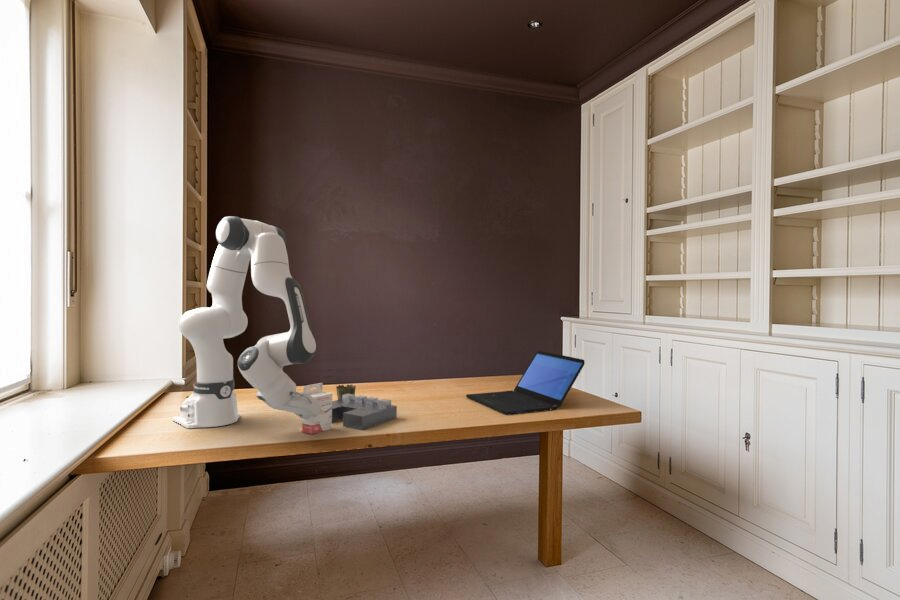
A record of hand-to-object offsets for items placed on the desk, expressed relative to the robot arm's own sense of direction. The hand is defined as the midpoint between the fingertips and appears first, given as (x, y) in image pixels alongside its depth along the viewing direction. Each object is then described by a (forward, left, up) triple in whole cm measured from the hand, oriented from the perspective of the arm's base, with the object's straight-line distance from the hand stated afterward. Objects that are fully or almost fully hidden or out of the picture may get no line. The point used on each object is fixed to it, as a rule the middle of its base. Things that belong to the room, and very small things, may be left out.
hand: (305, 417), depth 151 cm
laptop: (+39, +81, -6) cm, 90 cm away
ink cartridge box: (0, +5, -6) cm, 7 cm away
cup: (-16, +35, -6) cm, 39 cm away
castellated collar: (0, +23, -5) cm, 24 cm away
